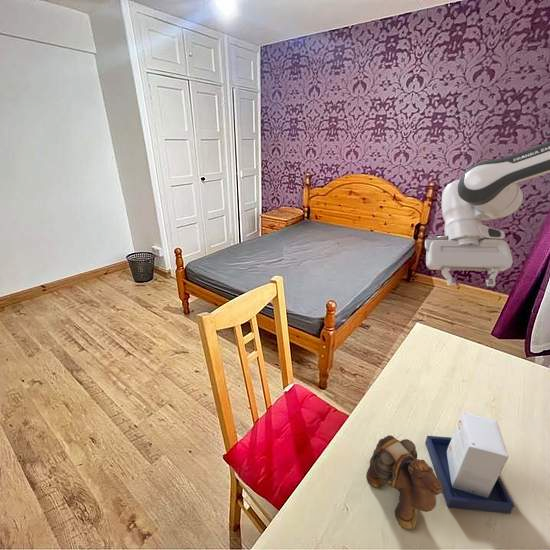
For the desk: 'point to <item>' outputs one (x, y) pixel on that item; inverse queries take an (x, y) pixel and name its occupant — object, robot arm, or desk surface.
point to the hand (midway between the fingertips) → (471, 285)
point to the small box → (476, 454)
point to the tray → (459, 498)
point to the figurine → (404, 478)
